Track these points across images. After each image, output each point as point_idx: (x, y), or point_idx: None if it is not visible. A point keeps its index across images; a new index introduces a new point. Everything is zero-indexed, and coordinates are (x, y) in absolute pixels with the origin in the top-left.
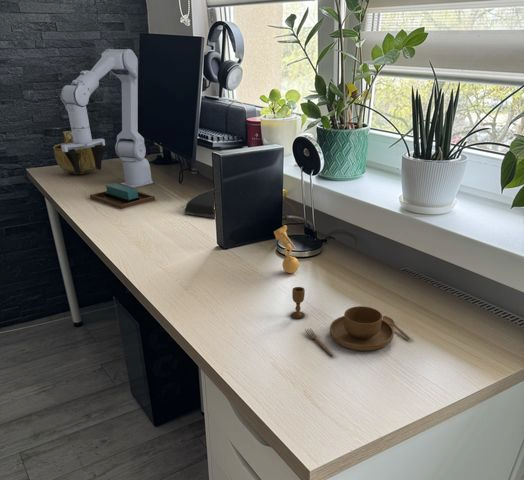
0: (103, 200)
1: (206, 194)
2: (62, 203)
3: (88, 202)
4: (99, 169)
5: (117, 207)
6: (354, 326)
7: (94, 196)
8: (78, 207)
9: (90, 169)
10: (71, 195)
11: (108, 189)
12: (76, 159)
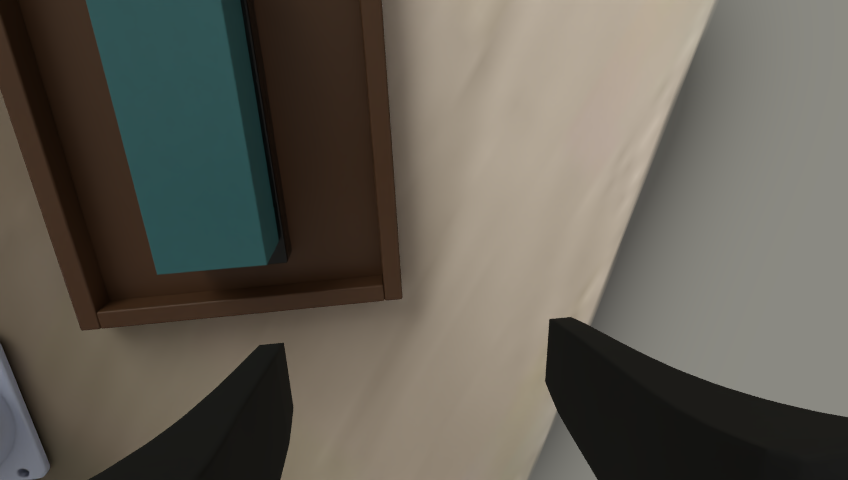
0: (388, 105)
1: None
2: None
3: (448, 227)
4: (281, 345)
5: None
6: None
7: (396, 237)
8: (559, 166)
9: None
10: (442, 439)
11: (268, 223)
12: (710, 400)
